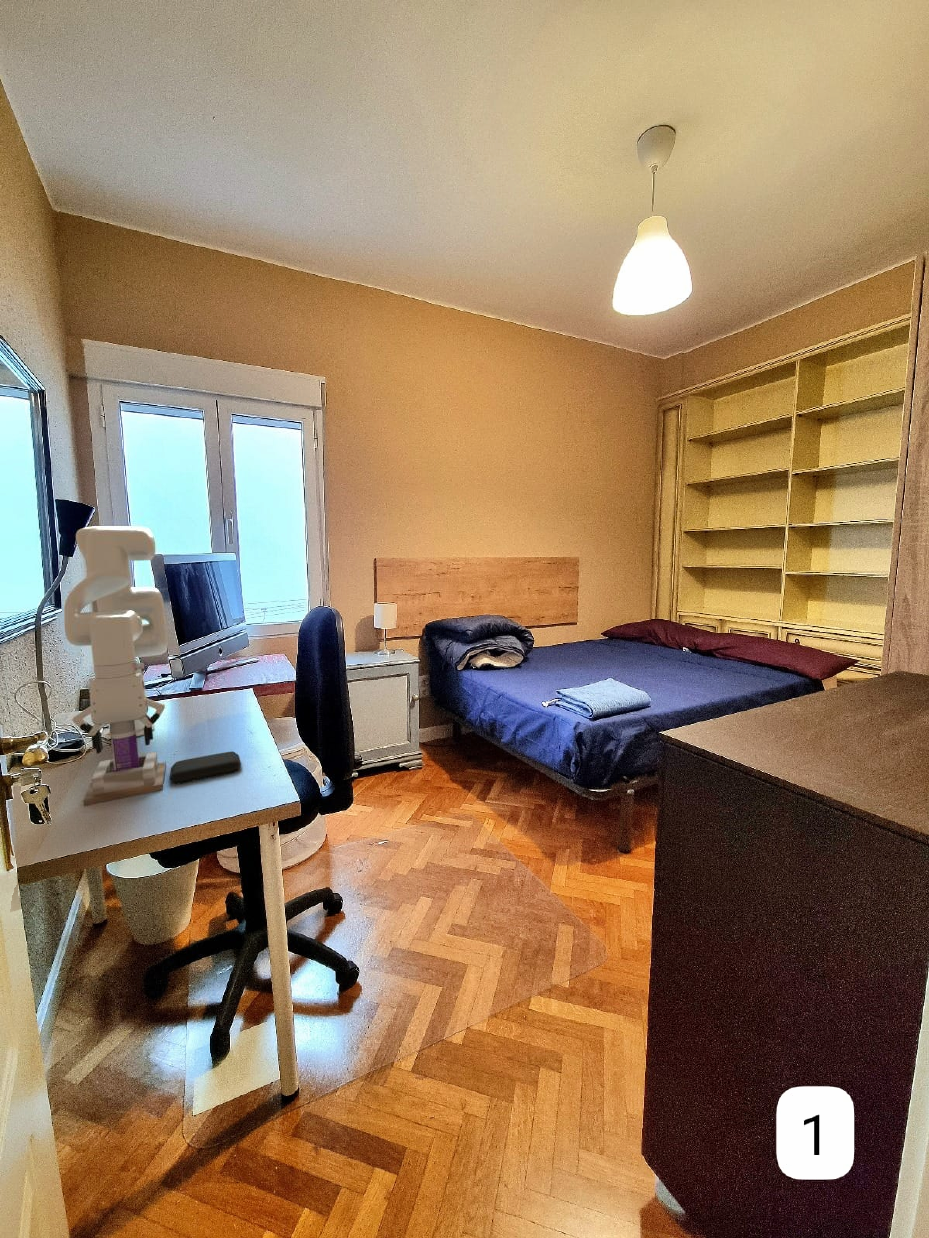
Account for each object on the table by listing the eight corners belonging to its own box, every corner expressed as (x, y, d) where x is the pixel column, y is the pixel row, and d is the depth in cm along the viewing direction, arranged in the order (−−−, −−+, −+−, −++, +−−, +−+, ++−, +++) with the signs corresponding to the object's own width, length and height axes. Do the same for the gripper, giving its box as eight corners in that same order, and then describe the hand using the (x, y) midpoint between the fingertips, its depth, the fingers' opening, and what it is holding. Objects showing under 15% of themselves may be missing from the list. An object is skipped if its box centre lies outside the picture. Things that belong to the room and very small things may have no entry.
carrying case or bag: (238, 758, 127) (171, 770, 121) (237, 746, 127) (170, 758, 120) (242, 773, 118) (170, 788, 111) (241, 761, 118) (168, 775, 111)
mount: (95, 779, 116) (93, 760, 115) (166, 766, 122) (164, 748, 122) (83, 805, 103) (81, 783, 103) (162, 789, 110) (160, 768, 109)
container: (145, 775, 114) (138, 711, 113) (126, 784, 110) (119, 717, 108) (129, 773, 116) (122, 710, 114) (110, 782, 111) (102, 716, 110)
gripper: (163, 663, 117) (170, 735, 119) (70, 672, 109) (79, 749, 111) (161, 668, 110) (168, 745, 112) (61, 679, 102) (72, 761, 104)
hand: (124, 746), depth 112 cm, fingers open, 8 cm apart
